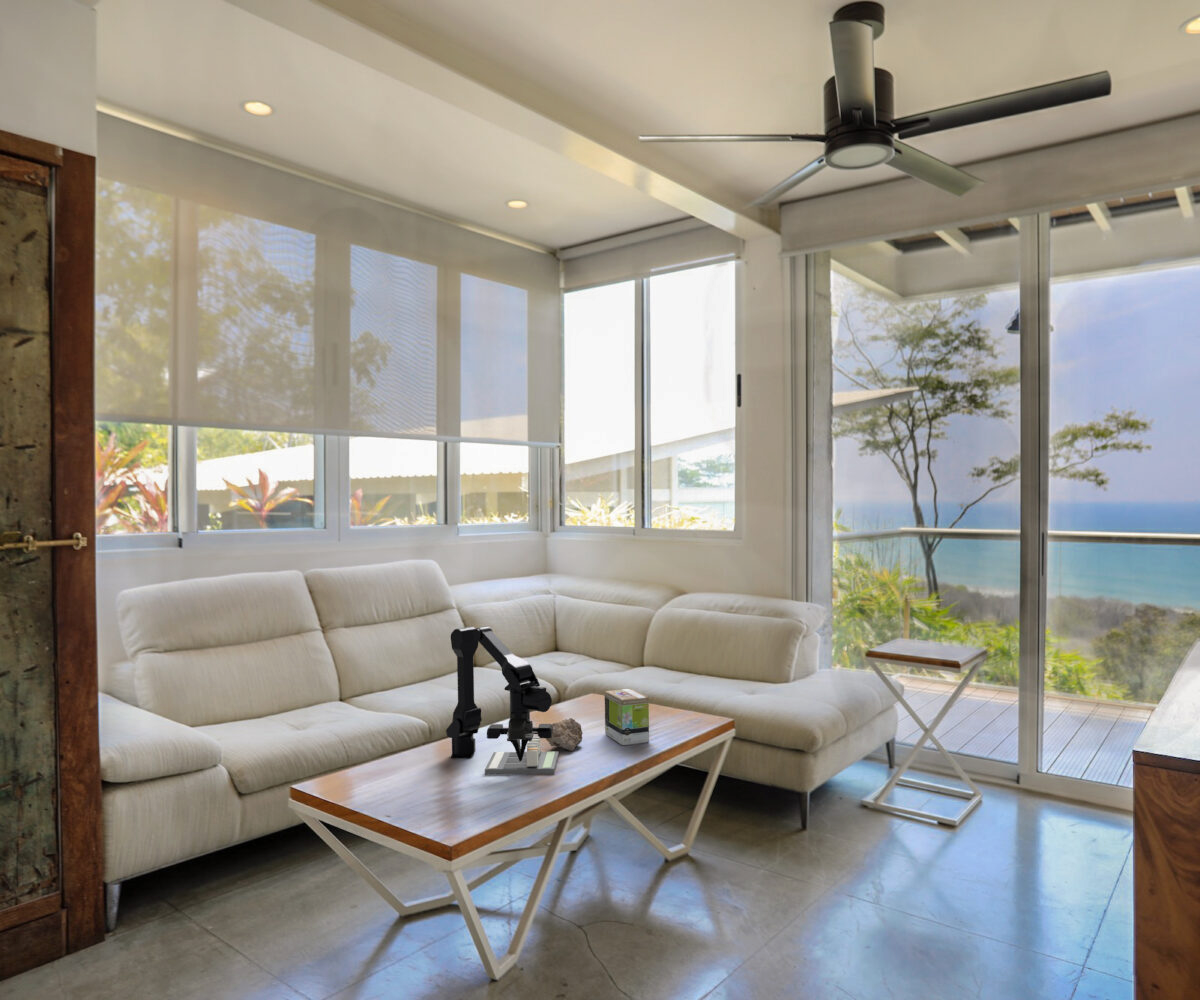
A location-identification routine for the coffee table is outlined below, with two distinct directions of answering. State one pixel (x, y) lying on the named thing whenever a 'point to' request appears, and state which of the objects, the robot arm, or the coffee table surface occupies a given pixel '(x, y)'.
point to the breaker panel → (521, 763)
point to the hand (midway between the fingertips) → (520, 760)
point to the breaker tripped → (532, 756)
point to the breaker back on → (536, 739)
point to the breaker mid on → (532, 745)
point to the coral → (566, 734)
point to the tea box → (627, 716)
